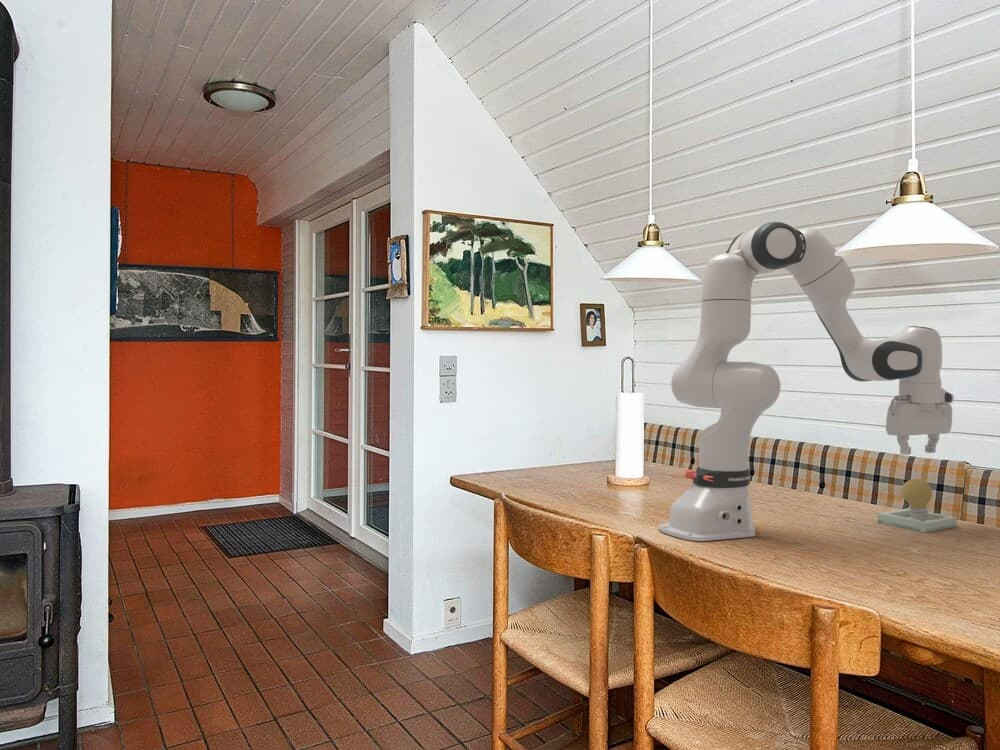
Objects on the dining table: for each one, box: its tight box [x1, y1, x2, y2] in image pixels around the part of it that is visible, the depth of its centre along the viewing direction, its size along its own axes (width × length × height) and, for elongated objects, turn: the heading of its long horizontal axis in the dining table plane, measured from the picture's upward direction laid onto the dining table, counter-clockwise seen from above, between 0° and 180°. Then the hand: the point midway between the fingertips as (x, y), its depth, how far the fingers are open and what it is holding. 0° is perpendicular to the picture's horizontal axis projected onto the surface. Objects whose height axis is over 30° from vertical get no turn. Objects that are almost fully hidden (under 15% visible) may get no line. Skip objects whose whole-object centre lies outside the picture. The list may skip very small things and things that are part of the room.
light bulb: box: [901, 478, 933, 521], centre depth 185 cm, size 6×6×10 cm
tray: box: [877, 507, 958, 534], centre depth 184 cm, size 12×12×2 cm
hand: (918, 453), depth 183 cm, fingers open, 8 cm apart
